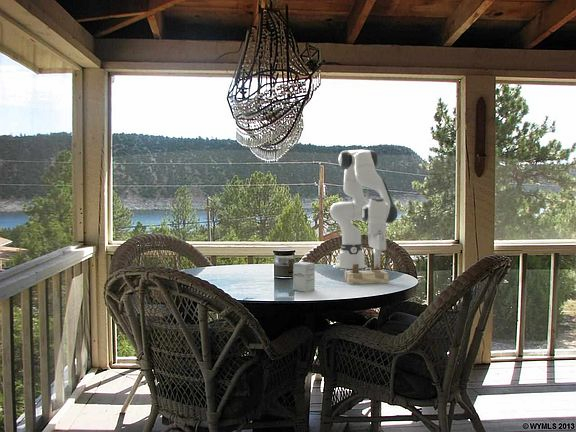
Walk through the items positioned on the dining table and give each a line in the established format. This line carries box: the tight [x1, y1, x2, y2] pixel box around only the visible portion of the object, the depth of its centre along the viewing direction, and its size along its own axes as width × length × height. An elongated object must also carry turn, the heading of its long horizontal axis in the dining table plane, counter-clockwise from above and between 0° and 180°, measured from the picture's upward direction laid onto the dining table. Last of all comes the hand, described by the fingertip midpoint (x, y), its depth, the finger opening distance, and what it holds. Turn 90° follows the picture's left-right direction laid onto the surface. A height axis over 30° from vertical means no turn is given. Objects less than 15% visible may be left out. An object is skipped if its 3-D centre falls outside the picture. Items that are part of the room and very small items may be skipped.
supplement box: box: [292, 261, 316, 293], centre depth 251 cm, size 7×7×13 cm
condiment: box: [370, 253, 384, 271], centre depth 290 cm, size 7×8×12 cm
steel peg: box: [373, 249, 380, 270], centre depth 273 cm, size 3×3×12 cm
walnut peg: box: [352, 264, 360, 273], centre depth 273 cm, size 3×3×9 cm
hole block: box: [344, 269, 389, 285], centre depth 273 cm, size 9×20×5 cm, turn 96°
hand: (377, 257), depth 273 cm, fingers closed on steel peg, 3 cm apart
